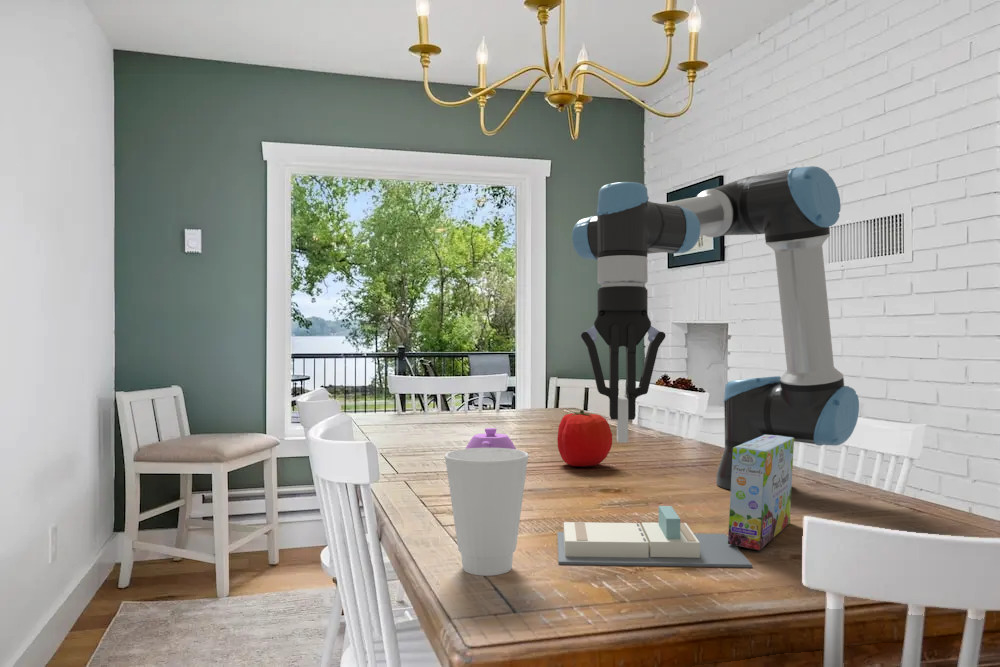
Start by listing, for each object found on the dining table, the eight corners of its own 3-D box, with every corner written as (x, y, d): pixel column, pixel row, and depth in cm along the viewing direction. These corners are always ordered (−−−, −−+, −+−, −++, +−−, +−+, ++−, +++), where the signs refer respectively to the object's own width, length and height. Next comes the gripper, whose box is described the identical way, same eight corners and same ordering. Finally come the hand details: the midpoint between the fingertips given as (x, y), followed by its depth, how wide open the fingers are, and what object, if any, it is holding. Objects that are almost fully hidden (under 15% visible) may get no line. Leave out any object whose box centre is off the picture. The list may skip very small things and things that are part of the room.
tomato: (564, 459, 194) (564, 406, 194) (617, 462, 189) (617, 408, 189) (547, 470, 179) (547, 413, 179) (604, 473, 174) (604, 415, 174)
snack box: (764, 552, 111) (767, 450, 111) (726, 545, 114) (729, 446, 114) (793, 523, 129) (795, 435, 129) (759, 518, 132) (761, 432, 132)
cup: (462, 586, 98) (462, 463, 98) (433, 561, 108) (432, 450, 108) (544, 574, 102) (543, 457, 102) (508, 551, 113) (507, 445, 113)
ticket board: (725, 536, 121) (725, 519, 121) (752, 567, 105) (751, 548, 105) (557, 534, 123) (557, 517, 123) (558, 564, 107) (558, 545, 107)
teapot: (525, 466, 186) (524, 423, 186) (515, 482, 166) (515, 434, 166) (470, 465, 187) (470, 422, 187) (453, 480, 168) (453, 433, 168)
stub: (686, 536, 119) (685, 504, 119) (699, 557, 108) (699, 521, 108) (641, 536, 119) (641, 503, 119) (650, 556, 108) (650, 520, 108)
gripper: (662, 287, 117) (662, 438, 117) (578, 287, 118) (578, 437, 118) (669, 284, 110) (669, 445, 110) (580, 284, 111) (580, 444, 111)
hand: (622, 441), depth 114 cm, fingers closed
